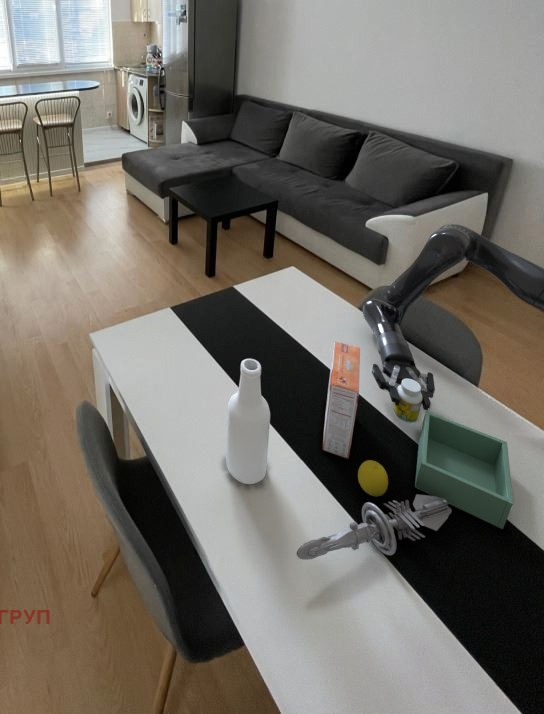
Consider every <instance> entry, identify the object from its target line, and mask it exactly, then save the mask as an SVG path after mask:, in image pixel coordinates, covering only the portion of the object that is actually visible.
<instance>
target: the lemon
mask: <svg viewBox="0 0 544 714" xmlns="http://www.w3.org/2000/svg"><path fill="white" fill-rule="evenodd" d="M388 477H389V476H388V473H387V471H386V469H385V468H384V466H383V465H382V464H380V462H378V461H375V460H372V459H367V460H365V461H364V462H362V463H361V464H360V466H359V468H358V471H357V480H358V483H359V485H360V487H361V489H362V490H363V491H364V492H365V493H366V494H368V495H369V496H371V497H381V496H383V495H385V493H386V491H387V490H388V486H389V478H388Z"/></svg>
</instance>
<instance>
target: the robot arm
mask: <svg viewBox="0 0 544 714" xmlns="http://www.w3.org/2000/svg"><path fill="white" fill-rule="evenodd" d="M464 261H466V262H468V263H472V264H473V265H475V266H477V267H479V268H481V269H483V270H485V271H487V272H488V273H490V274H491V275H492V276H494V277H495V278H496V279H497V280H498V281H499V282H501V284H502V285H504V287H505V288H506V289H507V290H508V291H510V292H511V293H512V294H513V295H514V296H515V297H516V298H518V299H519V300H521V301H522V302H524V303H525V304H527V305H529V306H531V307H532V308H534V309H536V310H538V311H540V312H541V313H543V314H544V267H543V266H542V265H539V264H537V263H535V262H533V261H531V260H529V259H527V258H525V257H522V256H520V255H518V254H516V253H515V252H512V251H510V250H508V249H505V248H504V247H502V246H501V245H498V244H497V243H495V242H493V241H491V240H490V239H488V238H486V237H485V236H484V235H481V234H480V233H478V232H477V231H475V230H474V229H472V228H469V227H467V226H465V225H463V224H460V223H459V224H458V223H447V224H444V225H442V226H441V227H440V228H438V229H437V230H436V231H435V230H434V232H433V233H431V235H430V236H429V237H428V239H427V241H426V243H425V244H424V246H423V248H422V250H421V251H420V253H419V255H418V256H417V257H416V259H415V260H414V262H412V264H410V266H409V267H408V268H407V269H406V270H405V271H403V272H402V273H401V274H400V275H399V276H398V277H397V278H396V279H395V280H394V281H393V282H392V284H390V285H389V286H388V287H387V289H386V290H385V291H384V293H383V298H384V300H385V301H383V300H381V299H377V298H374V297H373V298H368V299H367V300H366V301H364V303H363V305H362V315H363V318H364V320H365V321H366V323H367V325H368V327H369V328H370V329H371V331H372V332H373V333H374V336H375V339H376V343H377V351H378V354H379V356H380V361H381V364H382V366H379V365H378V364H377V363H373V364H372V368H371V374H372V376H373V378H374V381H375V382H376V384H377V386H378V388H379V389H380V390H382V391H383V390H386V391H387V392H388V394H389V397H390V400H391V401H390V402H392V403H393V404H394V403H395V405H399V402H400V398H399V395H398V391H397V388H398V387H397V386H396V385H398V386H399V385H401V382H402V380H403V379H406V378H408V379H412V380H415V381H416V382H418V383H419V384H420V386H421V394H422V397H423V399H422V404H421V407H422V409H423V411H428V410H429V409H430V407H431V404H432V402H431V399H433V398H434V395H435V392H436V386H435V379H434V374H433V373H432V372H427V373H424V372H421V371H420V370H419V369H418V368H417V366H416V363H415V360H414V357H413V354H412V351H411V349H410V346H409V344H408V342H407V340H406V338H405V336H404V333H403V330H402V328H401V324H402V322H403V319H404V317H405V315H406V313H407V311H408V310H409V308H410V307H411V306H412V305H413V304H414V303H415V302H416V301H417V300H418V299H419V298H420V297H421V296H422V295H423V294H424V292H425V291H426V290H427V289H428V287H429V286H430V285H431V284H432V283H433V282H434V281H435V280H436V279H437V278H438V277H439V276H441V275H443V274H444V273H445V272H447V271H448V270H450V269H451V268H453V267H455V266H457V265H458V264H460V263H462V262H464ZM384 375H385V376H386V377H388V379H389V382H388V381H387V380H386V378H385V376H384ZM422 381H423V382H422ZM423 383H424V384H425V385H424V384H423ZM425 386H426V387H425ZM428 412H429V411H428Z"/></svg>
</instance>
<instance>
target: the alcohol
mask: <svg viewBox="0 0 544 714" xmlns="http://www.w3.org/2000/svg"><path fill="white" fill-rule="evenodd" d="M261 375H262V365H261V363H260V361H258V360H256V359H254V358H245V359H243V360H242V361H241V363H240V376H239V377H240V378H239V383H238V390H237V391H235V393H234V394H232V396H231V397H230V399H229V402H228V404H227V412H226V413H227V417H226V418H227V420H226V426H227V427H226V455H225V456H226V458H225V462H226V467H227V470H228V472H229V474H230V475H231V477H233V478H234V479H235V480H236V481H238V482H239V483H241V484H245V485H254V484H257V483H259V482H260V481H262V480H263V479H264V477H265V476H266V473H267V468H268V467H267V464H268V453H269V452H268V451H269V439H270V438H269V436H270V426H271V410H270V406H269V403H268V401H267V400H266V398H264V396H263V395H262V386H261Z"/></svg>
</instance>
